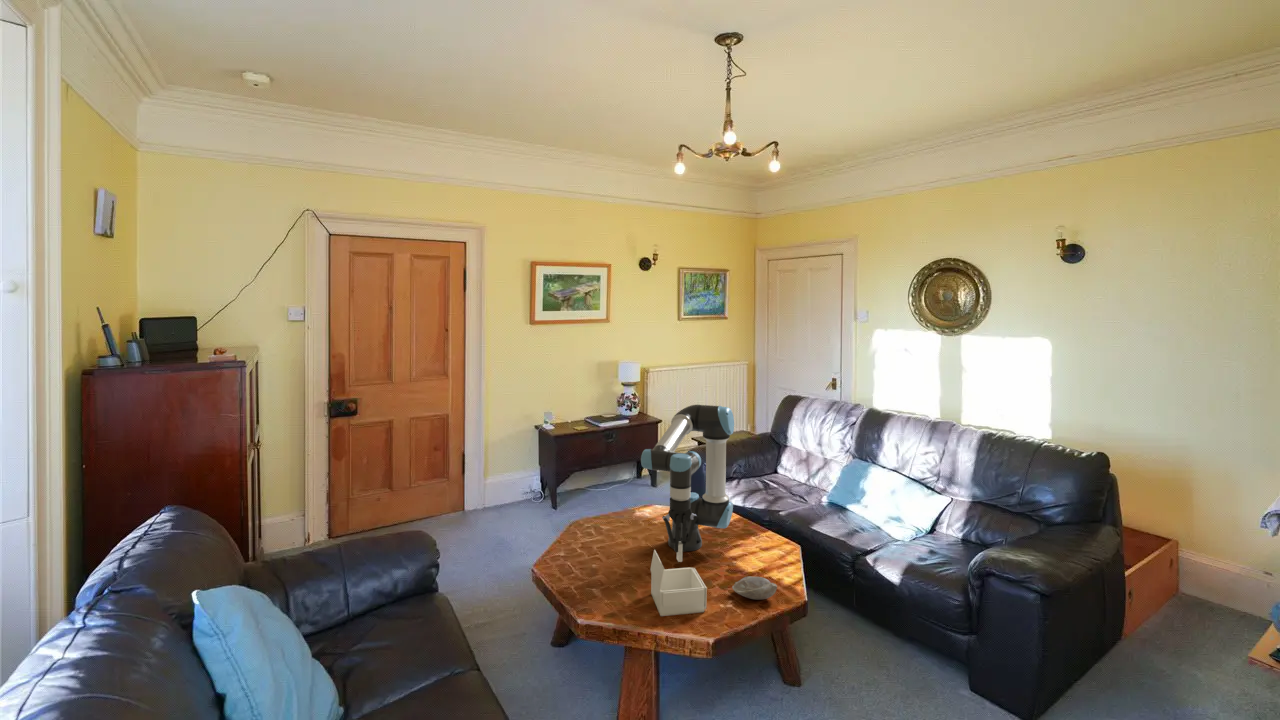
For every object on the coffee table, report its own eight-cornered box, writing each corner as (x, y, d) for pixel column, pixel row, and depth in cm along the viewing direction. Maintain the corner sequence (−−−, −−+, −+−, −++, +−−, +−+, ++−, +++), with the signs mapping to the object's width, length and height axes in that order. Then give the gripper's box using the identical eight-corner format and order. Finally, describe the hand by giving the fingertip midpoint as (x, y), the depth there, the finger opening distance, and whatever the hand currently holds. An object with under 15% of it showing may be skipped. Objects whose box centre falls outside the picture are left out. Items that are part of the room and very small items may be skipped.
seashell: (726, 581, 225) (755, 570, 216) (746, 579, 233) (775, 568, 223) (733, 607, 221) (763, 596, 212) (754, 604, 228) (783, 594, 219)
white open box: (693, 588, 229) (694, 566, 228) (707, 612, 212) (707, 588, 211) (650, 592, 226) (651, 570, 225) (660, 617, 209) (661, 592, 208)
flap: (655, 549, 223) (654, 549, 223) (664, 568, 208) (663, 568, 208) (651, 570, 224) (650, 570, 224) (660, 590, 209) (659, 590, 208)
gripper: (694, 492, 219) (693, 554, 222) (660, 494, 217) (659, 557, 219) (700, 499, 212) (699, 563, 214) (664, 502, 209) (664, 566, 212)
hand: (679, 560), depth 217 cm, fingers closed
